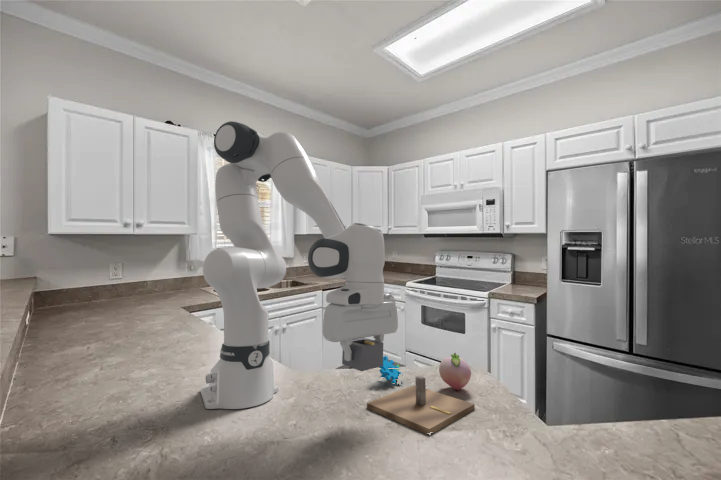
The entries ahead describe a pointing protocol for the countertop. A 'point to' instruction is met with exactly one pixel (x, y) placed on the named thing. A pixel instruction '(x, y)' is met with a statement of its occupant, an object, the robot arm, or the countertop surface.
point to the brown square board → (421, 407)
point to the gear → (389, 370)
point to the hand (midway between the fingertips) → (362, 357)
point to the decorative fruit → (455, 371)
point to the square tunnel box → (365, 354)
